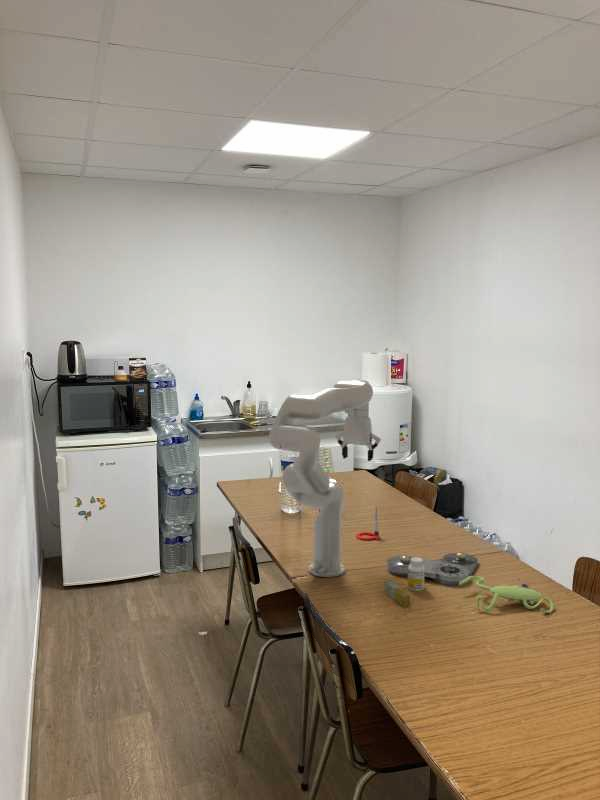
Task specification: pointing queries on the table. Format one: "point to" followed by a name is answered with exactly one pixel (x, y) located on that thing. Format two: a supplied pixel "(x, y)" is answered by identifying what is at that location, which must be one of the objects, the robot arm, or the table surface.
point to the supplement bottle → (416, 574)
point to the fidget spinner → (459, 559)
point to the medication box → (397, 593)
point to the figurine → (510, 594)
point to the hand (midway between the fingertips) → (357, 459)
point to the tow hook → (374, 536)
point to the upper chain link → (427, 568)
